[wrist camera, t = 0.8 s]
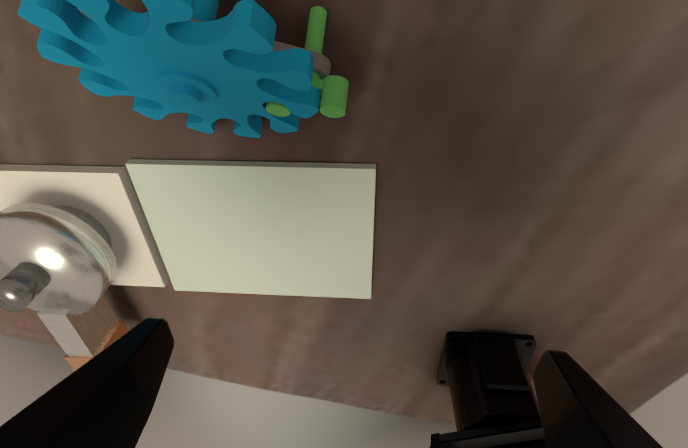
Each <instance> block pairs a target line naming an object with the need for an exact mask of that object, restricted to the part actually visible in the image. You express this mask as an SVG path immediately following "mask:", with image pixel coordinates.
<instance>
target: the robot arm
mask: <svg viewBox="0 0 688 448" xmlns="http://www.w3.org/2000/svg"><path fill="white" fill-rule="evenodd" d="M535 346H536V341H535V338H534V337H533V336H529V335H510V334H489V333H469V332H449V333H447V334H446V337H445V341H444V346H443V350H442V355H441V359H440V364H439V368H438V373H437V377H436V378H437V383H438V384H439V385H444V386H450V392H451V398H452V404H453V410H454V416H455V422H456V428H457V432H451V433H445V434H439V433H436V434H431V446H430V448H662V447H661V445H660V444H659V443H658V442H657V441H655V439H654V438H652V436H651V435H649V434H648V433H647V432H646V431H645V430H644V429H643V428H642V427H641V426H640V425H639V424H638V423H637V422H636V421H635V420H634V419H633V418H632V417H631V416H630V415H629V414H628V413H627V412H626V411H625V410H624V409H623V408H622V407H621V406H620V405H619V404H618V403H617V402H616V401H615V400H614V399H613V398H612V397H611V396H610V395H609V394H608V393H607V392H606V391H605V390H604V389H603V388H602V387H601V386H600V385H599V384H598V383H597V382H596V381H595V380H594V379H593V378H592V377H591V376H590V375H589V374H588V373H587V372H586V371H585V370H584V369H583V368H582V367H581V366H580V365H579V364H578V363H577V362H576V361H575V360H574V359H573V358H572V357H571V356H570V355H568V354H567V353H566V352H563V351H555V350H547V351H545V352H544V353H543V355H542V357H541V359H540V360H539V362H538V364H537V366H536V368H535V370H534V375H533V378H534V385H535V390H536V395H537V400H536V397H535V395H534V392H533V389H532V386H531V383H530V380H529V378H528V375H527V372H526V369H525V368H526V366H527V364H528V361H529V359H530V357H531V355H532V353H533V350H534V348H535ZM173 347H174V339H173V336H172V333H171V330H170V328H169V325H168V322H167V320H166V319H164V318H156V317H149V318H146V319H144V320H143V321H142V322H140V323H139V324H138V325H136V326H135V327H133V328H132V329H131V330H129V331H128V332H127V333H125V334H124V335H123V336H121V337H120V338H119V339H117V340H116V341H115V342H113V343H112V344H111V345H109V346H108V347H107V348H105V349H104V350H103V351H101V352H100V353H98V354H97V355H96V356H94V357H93V358H92V359H90V360H89V361H88V362H86V363H85V364H84V365H82V366H81V367H80V368H78V369H77V370H76V371H74V372H73V373H72V374H70V375H69V376H68V377H66V378H65V379H64V380H62V381H61V382H59V383H58V384H57V385H56V386H54V387H53V388H51V389H50V390H49V391H47V392H46V393H45V394H43V395H42V396H41V397H39V398H38V399H37V400H35V401H34V402H33V403H31V404H30V405H29V406H27V407H26V408H25V409H23V410H22V411H21V412H19V413H18V414H17V415H15V416H14V417H12V418H11V419H10V420H8V421H7V422H6V423H4V424H3V425H2V426H1V427H0V448H135V446H136V444H137V442H138V440H139V437H140V436H141V433H142V431H143V429H144V427H145V425H146V422H147V420H148V418H149V415H150V413H151V411H152V408H153V406H154V403H155V400H156V397H157V394H158V392H159V389H160V386H161V383H162V380H163V377H164V374H165V371H166V368H167V365H168V362H169V359H170V356H171V353H172V350H173ZM537 401H538V403H537Z"/></svg>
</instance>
